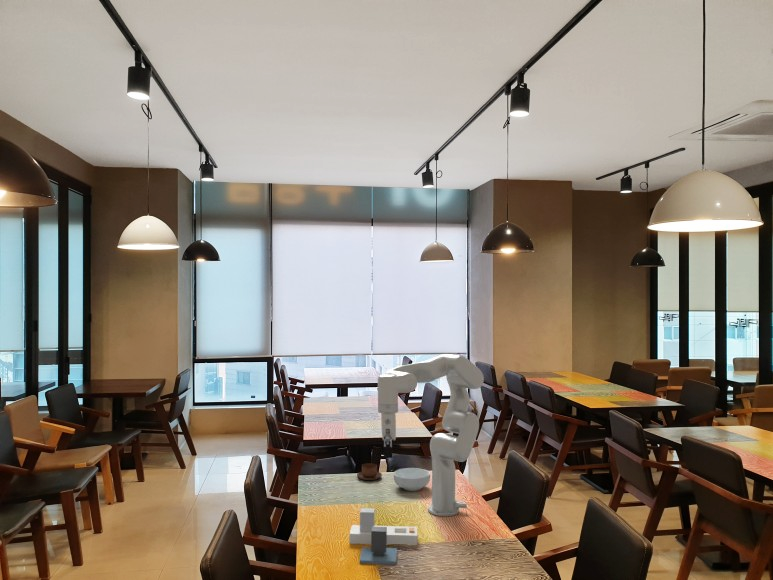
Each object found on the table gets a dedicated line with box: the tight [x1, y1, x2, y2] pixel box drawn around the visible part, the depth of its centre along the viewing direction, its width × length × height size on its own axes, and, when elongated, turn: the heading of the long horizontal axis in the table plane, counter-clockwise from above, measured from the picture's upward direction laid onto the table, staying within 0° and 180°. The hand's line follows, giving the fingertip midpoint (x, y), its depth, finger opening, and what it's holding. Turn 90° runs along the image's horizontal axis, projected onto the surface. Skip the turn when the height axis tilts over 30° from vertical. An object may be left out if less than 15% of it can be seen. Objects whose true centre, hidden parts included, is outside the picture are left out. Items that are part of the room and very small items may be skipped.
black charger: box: [370, 527, 388, 557], centre depth 196 cm, size 5×4×8 cm
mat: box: [359, 546, 398, 565], centre depth 196 cm, size 12×10×1 cm
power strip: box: [349, 524, 418, 546], centre depth 210 cm, size 24×8×4 cm, turn 87°
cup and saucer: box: [356, 462, 383, 481], centre depth 282 cm, size 12×12×6 cm
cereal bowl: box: [393, 467, 431, 492], centre depth 268 cm, size 17×17×7 cm
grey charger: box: [359, 507, 376, 532], centre depth 211 cm, size 5×4×8 cm
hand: (388, 453), depth 217 cm, fingers open, 9 cm apart
